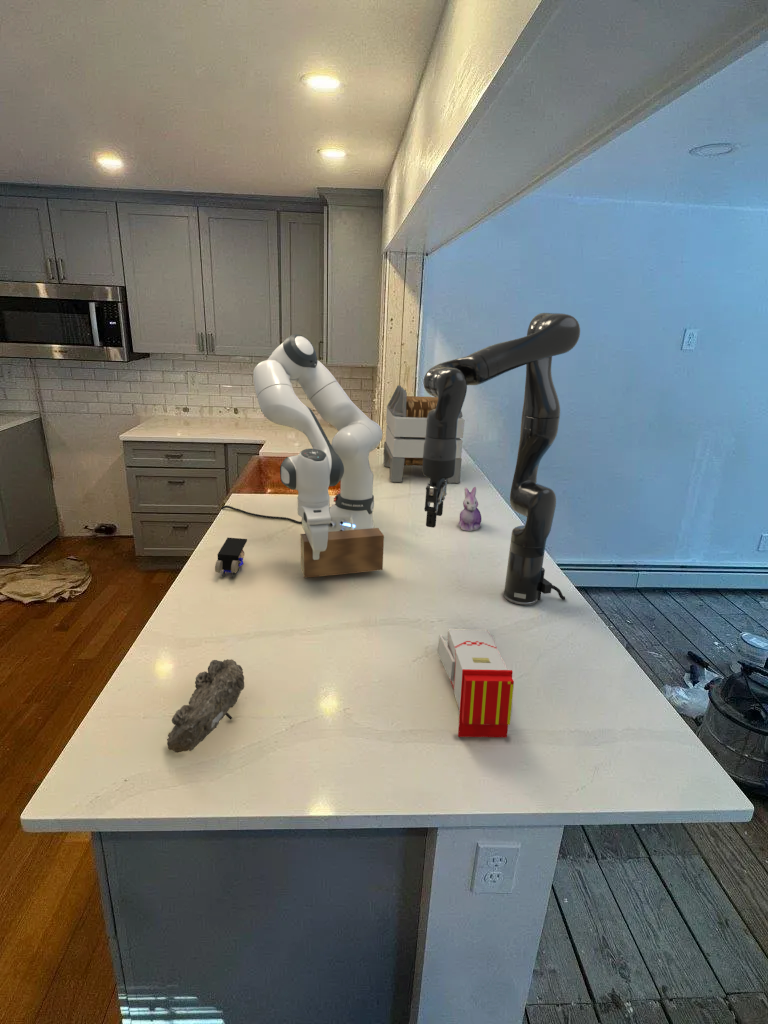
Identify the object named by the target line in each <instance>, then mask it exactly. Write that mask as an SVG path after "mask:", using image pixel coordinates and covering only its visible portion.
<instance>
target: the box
mask: <svg viewBox="0 0 768 1024" xmlns="http://www.w3.org/2000/svg"><path fill="white" fill-rule="evenodd" d="M299 535H300V570H301V573H302V575H303V578H304V579H306V578H316V577H325V576H327V577H328V576H336V575H346V574H356V573H367V572H375V571H377V572H378V571H383V570H384V569H383V567H384V545H385V543H384V542H385V535H384V534H383V532H382V531H381V529H379V527H374V528H371V529H358V530H345V531H332V532H328V542H327V548H326V550H325V551H321V552H320V554H319V559H318V560H314V559H313V557H312V552H313V550H312V547H311V545H310V543H309V540H308V538H307V536H306V534H305V533H300V534H299Z"/></svg>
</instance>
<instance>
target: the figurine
mask: <svg viewBox="0 0 768 1024" xmlns="http://www.w3.org/2000/svg"><path fill="white" fill-rule="evenodd" d="M476 494H477V487H476V486H474V487H473V488H472V489H471V491H470V490H469V488H467V487H464V499H463V501H462V506H463V509H462V510H461V511H460V513H459V521H458V527H459V528H460V529H461V530H463V531H469V532H472V531H476V530H478V529H479V528H481V523H482V514H481V512H480V510H479V508H478V507H479V501H478V498H477V497H476Z"/></svg>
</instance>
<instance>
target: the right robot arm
mask: <svg viewBox="0 0 768 1024" xmlns="http://www.w3.org/2000/svg"><path fill="white" fill-rule="evenodd" d="M580 336H581V325H580V323H579V321H578V320H577V319H576V318H575V317H574V316H572V315H570V314H568V313H559V312H558V313H557V312H541V313H540V312H539V313H538V314H536V315H535V316H533V318H532V319H531V321H530V322H529V324H528V328H527V332H526V335H525V336H523V337H519V338H515V339H510V340H507V341H501V342H498V343H494V344H491V345H488V346H486V347H483V348H481V349H479V350H477V351H474V352H473V353H472V352H471V353H470V354H468V355H466V356H463V357H459V358H458V357H457V358H455V359H451V360H447V361H443V362H440V363H438V364H435V365H434V366H432V367H431V368H430V369H428V370H427V371H426V373H425V375H424V377H423V381H422V383H423V388H424V390H425V391H426V393H427V394H428V395H430V396H431V397H437V398H438V402H437V406H436V409H433V410H431V411H430V412H429V413H428V415H427V424H426V436H425V442H424V450H423V465H422V466H421V473H422V475H423V476H425V477H428V478H429V479H430V480H429V482H428V483H427V485H426V487H425V501H424V512H426V519H425V526H426V527H427V528H436V526H437V517H441V516H442V515H443V510H444V501H445V500H446V496H447V489H448V488H447V486H448V482H447V478H451V477H453V475H454V470H455V459H456V447H457V446H456V435H457V423H458V417H459V414H460V412H462V409H463V406H464V402H465V400H466V397H467V392H468V386H478V385H481V384H484V383H486V382H488V381H491V380H493V379H495V378H497V377H499V376H501V375H504V374H506V373H508V372H510V371H512V370H515V369H518V368H520V367H523V366H526V367H525V382H524V395H523V405H522V412H521V420H520V431H519V432H520V433H519V440H518V441H519V443H518V449H517V457H516V463H515V469H514V474H513V478H512V482H511V483H512V484H511V487H510V492H509V503H510V504H509V505H510V507H511V509H512V510H513V511H514V512H516V513H517V514H520V515H522V516H524V517H526V520H525V525H517V526H515V527H514V528H513V529H512V531H511V535H510V543H509V552H508V559H507V565H506V574H505V582H504V588H503V598H504V599H505V600H506V601H508V602H510V603H512V604H515V605H520V606H531V605H534V604H536V603H538V602H539V601H541V599H542V594H544V595H547V594H551V593H552V590H554V591H555V592H557V594H558V596H559V599H561V600H562V601H565V600H566V596H565V595H563V592H562V590H561V589H560V588H559V587H557V586H556V585H554V584H553V583H552V582H550V581H549V580H547V579H546V578H545V573H546V572H545V571H546V569H545V567H543V564H544V558H545V552H546V545H547V540H548V537H549V535H550V533H551V531H552V526H553V521H554V516H555V511H556V508H557V496H556V493H555V491H554V490H553V489H552V488H550V487H548V486H545V485H543V484H540V483H537V482H538V481H537V478H538V477H537V476H538V471H539V466H540V463H541V460H542V459H543V457H544V456H545V455H546V453H547V452H548V450H549V449H550V448H551V446H552V445H553V443H554V442H555V440H556V439H557V436H558V432H559V427H560V419H561V418H560V416H561V404H560V400H559V397H558V392H557V390H556V387H555V383H554V381H553V376H552V364H553V357H556V356H560V355H563V354H567V353H568V352H571V350H573V349H574V348H575V347H576V345H577V344H578V342H579V340H580ZM431 504H433V506H431Z"/></svg>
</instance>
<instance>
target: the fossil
mask: <svg viewBox="0 0 768 1024" xmlns="http://www.w3.org/2000/svg"><path fill="white" fill-rule="evenodd" d="M243 670H244V669H243V667H242V665H240V664H237V662H236V661H235V660H234V659H232V658H231V659H227V658H226V659H224V660H223V661H222V660H217V659H212V660H211V661H210V663H209V665H208V666H207V671H201V672H199V673H198V674H197V675H196V676H195V680H194V684H195V685H194V687H195V689H194V690H193V693H192V694H191V697H190V698H189V700H188V704H184V705H182V706H181V707H180V709H177V710H176V711H175V713H174V715H173V716H172V718H171V723H172V724H173V727H172V730H171V731H170V732H168V734H167V738H166V741H167V742H166V745H167V749H168V750H169V751H173V752H174V753H176V754H178V753H182V752H188V751H189V752H192V751H193V750H195V748H196V747H197V746H199V744H200V743H201V742H203V741H204V740H205V739H206V738H207V737H208V736H209V735H210V734H211V733H212V732H214V730H215V729H217V727H218V726H219V724H220V722H221V721H222V720H223V719H224V718H225V716H226V717H227V719H229V720H233V717H232V715H230V714H229V710H230V709H231V708H234V706H235V704H236V703H237V702H238V699H239V697H240V695H241V693H242V691H243V690H245V689H244V688H245V675H244V671H243Z"/></svg>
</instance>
